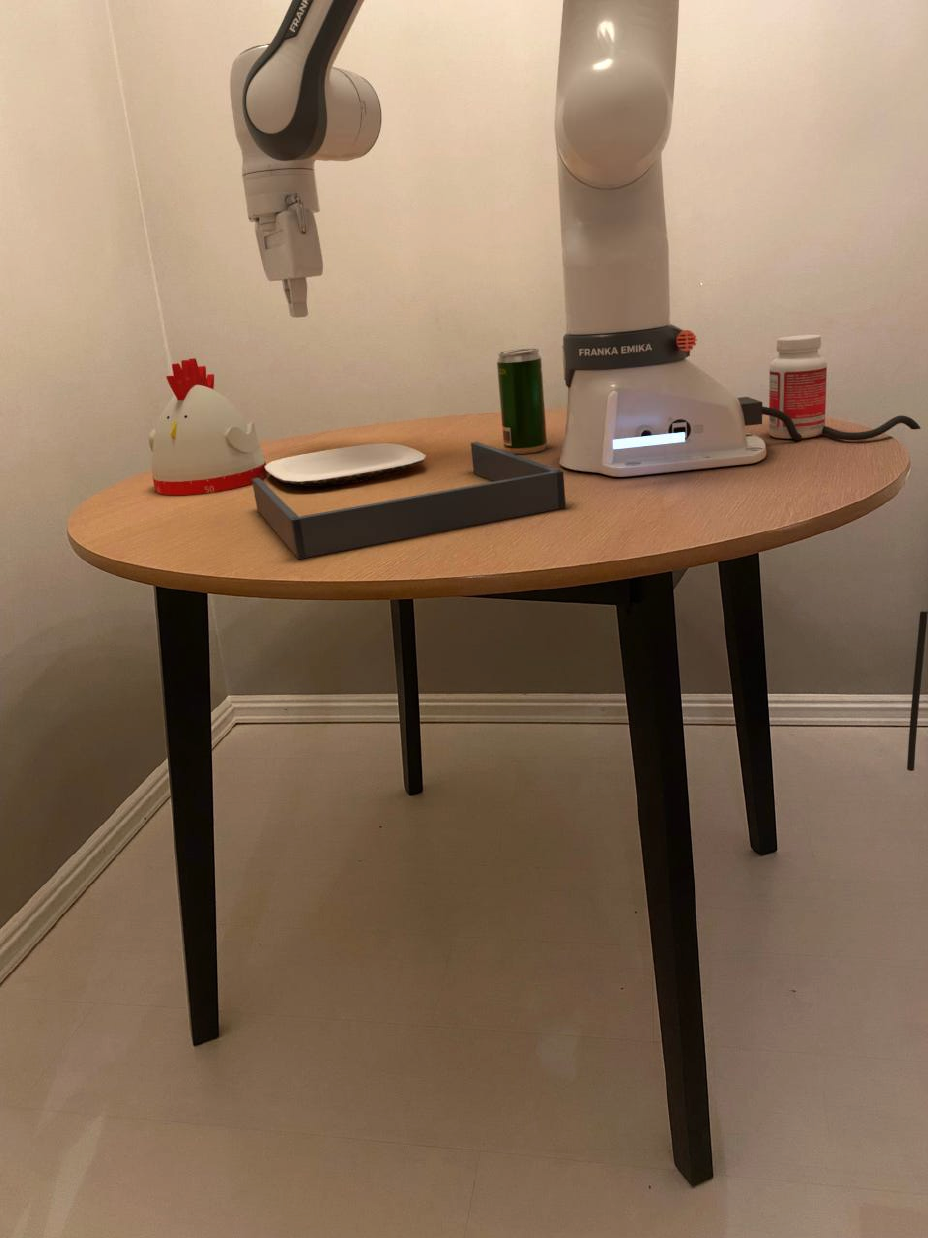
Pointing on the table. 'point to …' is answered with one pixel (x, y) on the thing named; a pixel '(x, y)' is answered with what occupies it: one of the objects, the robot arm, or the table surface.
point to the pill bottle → (798, 386)
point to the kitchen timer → (202, 439)
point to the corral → (421, 507)
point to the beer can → (522, 401)
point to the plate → (344, 464)
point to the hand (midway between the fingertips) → (299, 317)
